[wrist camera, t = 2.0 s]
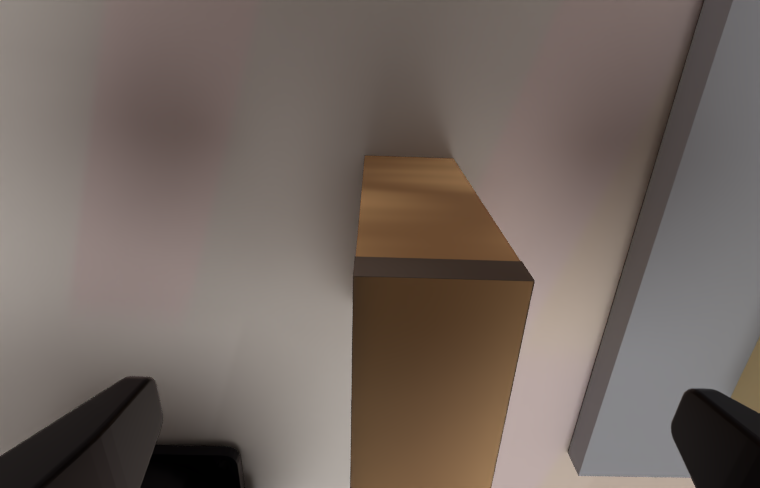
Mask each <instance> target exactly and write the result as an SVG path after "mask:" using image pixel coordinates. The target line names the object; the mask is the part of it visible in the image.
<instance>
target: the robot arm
mask: <svg viewBox="0 0 760 488" xmlns="http://www.w3.org/2000/svg"><path fill="white" fill-rule="evenodd" d="M162 421H163V413H162V408H161V403H160V399H159V394H158V390H157V385H156V382H155V380H154V379H153V378H151V377H143V376H130V377H125V378H123V379H122V380H120V381H118V382H117V383H115V384H114V385H112V386H110V387H109V388H107V389H106V390H104V391H103V392H101V393H99V394H98V395H96V396H95V397H93V398H91V399H90V400H88V401H87V402H85V403H84V404H82V405H80V406H79V407H77V408H76V409H74V410H72V411H71V412H69V413H68V414H66V415H65V416H63V417H61V418H60V419H58V420H57V421H55V422H53V423H52V424H50V425H49V426H47V427H46V428H44V429H42V430H41V431H39V432H38V433H36V434H34V435H33V436H31V437H30V438H28V439H27V440H25V441H23V442H22V443H20V444H19V445H17V446H15V447H14V448H12V449H11V450H9V451H8V452H6V453H4V454H3V455H1V456H0V488H245V486H244V478H243V471H242V463H241V456H240V454H239V452H238V451H237V450H236V449H234V448H232V447H226V446H172V445H155V444H156V441H157V439H158V436H159V433H160V430H161V427H162ZM671 434H672V437H673V440H674V442H675V444H676V446H677V449H678V451H679V453H680V455H681V457H682V459H683V461H684V464H685V466H686V468H687V470H688V472H689V474H690V476H691V479H692V481H693V483H694V485H695V487H696V488H760V413H758V412H756V411H754V410H752V409H750V408H749V407H747V406H745V405H743V404H741V403H739V402H738V401H736V400H734V399H732V398H730V397H728V396H727V395H725V394H723V393H721V392H719V391H717V390H714V389H706V388H691V389H688V390H687V391H685V392H684V394H683V396H682V398H681V400H680V403H679V405H678V408H677V410H676V412H675V415H674V417H673V419H672V422H671Z"/></svg>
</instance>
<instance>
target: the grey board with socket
mask: <svg viewBox="0 0 760 488" xmlns="http://www.w3.org/2000/svg"><path fill="white" fill-rule="evenodd" d="M691 388H706V389H714V390H717V391H719V392H721V393H723V394H725V395H727V396H728V397H730V398H732V399H734V400H736V401H738V402H739V403H741V404H743V405H745V406H747V407H749V408H750V409H752V410H754V411H756V412H758V413H760V0H704V3H703V6H702V10H701V13H700V16H699V20H698V23H697V26H696V30H695V33H694V36H693V40H692V43H691V46H690V50H689V53H688V56H687V59H686V63H685V66H684V69H683V73H682V76H681V79H680V83H679V86H678V89H677V93H676V96H675V99H674V103H673V106H672V109H671V113H670V116H669V119H668V123H667V126H666V129H665V133H664V136H663V139H662V142H661V146H660V149H659V152H658V156H657V159H656V162H655V166H654V169H653V172H652V176H651V179H650V182H649V186H648V189H647V192H646V196H645V199H644V202H643V206H642V209H641V212H640V216H639V219H638V222H637V225H636V229H635V232H634V235H633V239H632V242H631V245H630V249H629V252H628V255H627V259H626V262H625V265H624V269H623V272H622V275H621V279H620V282H619V285H618V289H617V292H616V295H615V298H614V302H613V305H612V308H611V312H610V315H609V318H608V322H607V325H606V328H605V332H604V335H603V338H602V342H601V345H600V348H599V352H598V355H597V358H596V362H595V365H594V368H593V372H592V375H591V378H590V381H589V385H588V388H587V391H586V395H585V398H584V401H583V405H582V408H581V411H580V415H579V418H578V421H577V425H576V428H575V431H574V435H573V438H572V441H571V445H570V448H569V451H568V454H569V456H570V458H571V461H572V463H573V465H574V467H575V469H576V471H577V473H578V476H623V477H682V478H691V476H690V474H689V472H688V470H687V468H686V466H685V464H684V461H683V459H682V457H681V455H680V453H679V451H678V449H677V446H676V444H675V442H674V440H673V437H672V434H671V422H672V419H673V417H674V415H675V412H676V410H677V408H678V405H679V403H680V400H681V398H682V396H683V394H684V392H685V391H687V390H688V389H691Z"/></svg>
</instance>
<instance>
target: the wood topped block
mask: <svg viewBox="0 0 760 488" xmlns="http://www.w3.org/2000/svg"><path fill="white" fill-rule="evenodd" d="M533 286H534V279H533V278H532V276H531V275H530V273H529V272H528V270H527V269H526V267H525V266H524V264H523V263H522V261H520V260H519V258H518V257H517V255H516V254H515V252H514V251H513V249H512V247H511V246H510V244H509V243H508V241H507V240H506V238H505V237H504V235H503V234H502V232H501V231H500V229H499V228H498V226H497V225H496V223H495V221H494V220H493V218H492V217H491V215H490V214H489V212H488V211H487V209H486V208H485V206H484V205H483V203H482V202H481V200H480V199H479V197H478V195H477V194H476V192H475V191H474V189H473V188H472V186H471V185H470V183H469V182H468V180H467V179H466V177H465V176H464V174H463V173H462V171H461V170H460V168H459V166H458V165H457V163H456V162H455V160H454V159H452V158H423V157H394V156H366V155H365V159H364V170H363V181H362V192H361V203H360V214H359V226H358V237H357V248H356V256H355V262H354V272H353V327H352V400H351V473H350V488H491V486H492V481H493V476H494V472H495V467H496V462H497V457H498V453H499V448H500V443H501V438H502V434H503V429H504V424H505V419H506V414H507V410H508V405H509V400H510V395H511V391H512V386H513V381H514V376H515V372H516V367H517V362H518V357H519V353H520V348H521V343H522V338H523V334H524V329H525V324H526V319H527V315H528V310H529V305H530V300H531V296H532V291H533Z"/></svg>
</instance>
